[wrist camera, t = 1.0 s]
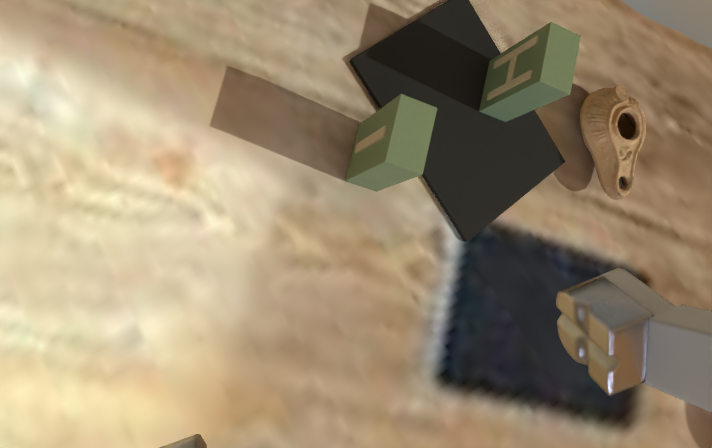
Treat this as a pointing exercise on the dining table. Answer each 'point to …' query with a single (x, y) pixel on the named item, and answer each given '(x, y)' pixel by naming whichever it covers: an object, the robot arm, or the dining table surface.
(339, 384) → the dining table surface
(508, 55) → the letter H
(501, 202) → the word mat
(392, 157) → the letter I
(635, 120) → the pottery oil lamp
